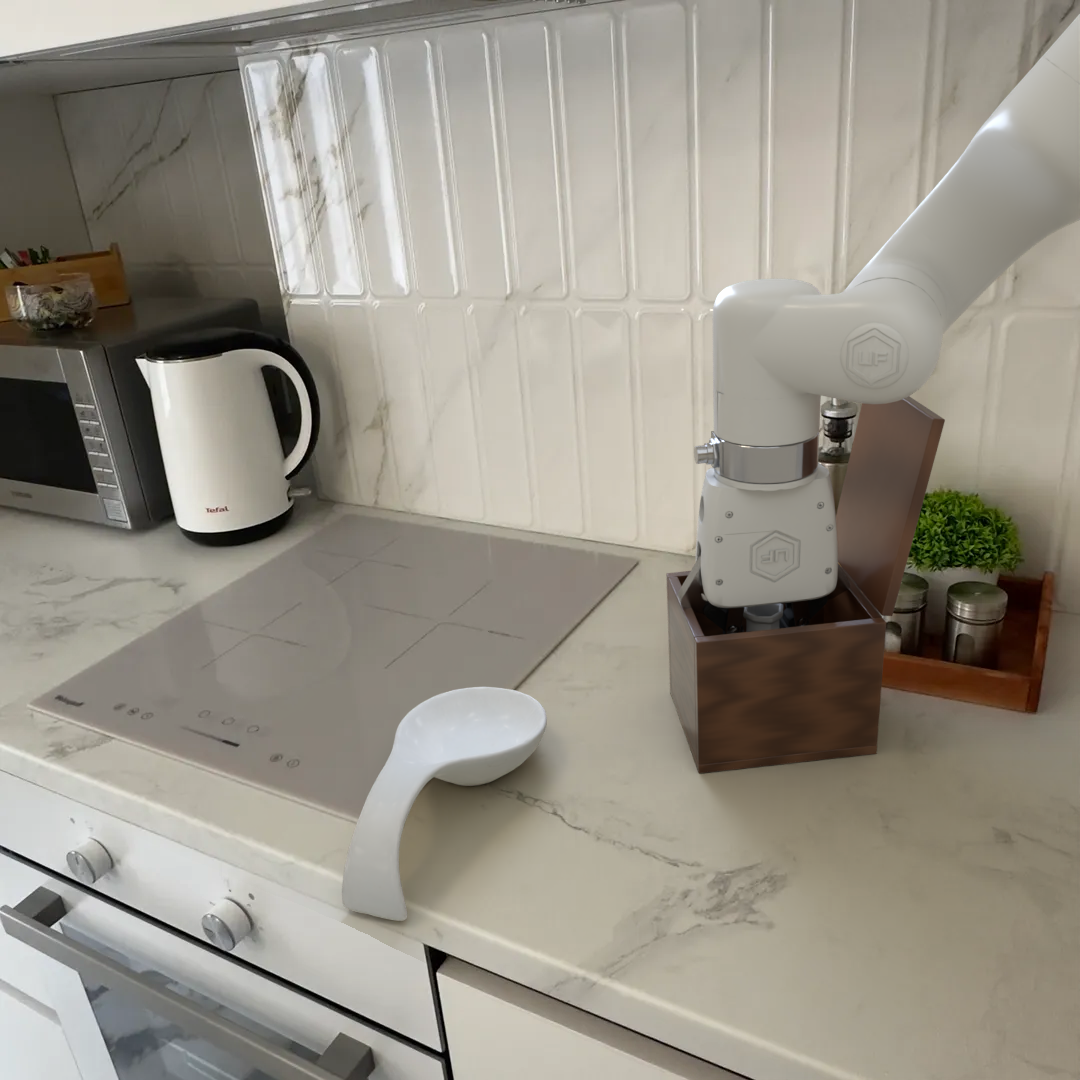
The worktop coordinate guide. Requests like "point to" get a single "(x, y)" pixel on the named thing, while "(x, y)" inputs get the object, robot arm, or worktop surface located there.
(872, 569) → the lid
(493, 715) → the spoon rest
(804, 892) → the worktop surface
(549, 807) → the worktop surface
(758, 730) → the box
